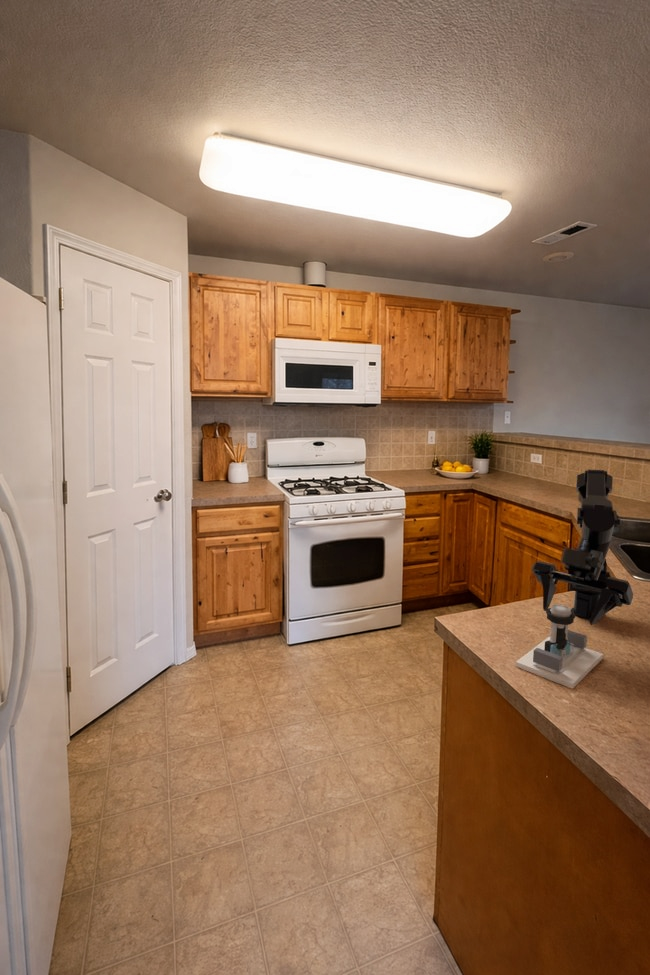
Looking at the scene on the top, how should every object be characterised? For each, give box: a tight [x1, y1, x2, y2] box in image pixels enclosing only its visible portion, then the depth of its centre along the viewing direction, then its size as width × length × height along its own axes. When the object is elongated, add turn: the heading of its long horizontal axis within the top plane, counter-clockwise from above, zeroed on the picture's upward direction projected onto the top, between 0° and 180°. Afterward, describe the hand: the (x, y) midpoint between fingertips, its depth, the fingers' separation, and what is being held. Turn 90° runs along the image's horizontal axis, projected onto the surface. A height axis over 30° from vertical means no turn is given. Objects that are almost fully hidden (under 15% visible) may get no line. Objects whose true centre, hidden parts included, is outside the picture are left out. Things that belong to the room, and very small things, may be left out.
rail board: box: [515, 629, 604, 690], centre depth 98 cm, size 16×11×4 cm
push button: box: [544, 604, 576, 657], centre depth 98 cm, size 7×5×10 cm
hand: (566, 616), depth 99 cm, fingers open, 9 cm apart
